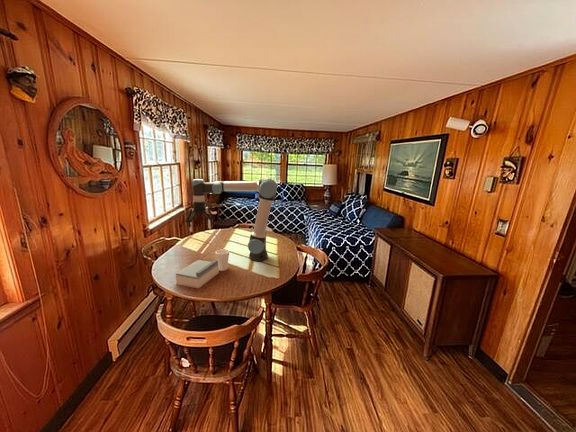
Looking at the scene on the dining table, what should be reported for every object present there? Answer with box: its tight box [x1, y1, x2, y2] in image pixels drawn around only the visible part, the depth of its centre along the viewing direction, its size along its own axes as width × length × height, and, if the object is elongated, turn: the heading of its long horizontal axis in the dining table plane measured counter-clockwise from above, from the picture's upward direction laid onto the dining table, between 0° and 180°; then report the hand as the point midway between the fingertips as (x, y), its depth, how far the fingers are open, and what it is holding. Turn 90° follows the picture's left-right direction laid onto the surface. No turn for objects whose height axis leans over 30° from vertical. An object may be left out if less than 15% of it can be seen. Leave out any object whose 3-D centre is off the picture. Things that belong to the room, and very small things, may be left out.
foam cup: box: [215, 248, 230, 272], centre depth 170 cm, size 10×9×13 cm
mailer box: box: [175, 265, 220, 289], centre depth 156 cm, size 16×22×6 cm
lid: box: [175, 259, 218, 279], centre depth 155 cm, size 16×22×4 cm
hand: (200, 229), depth 174 cm, fingers open, 13 cm apart
